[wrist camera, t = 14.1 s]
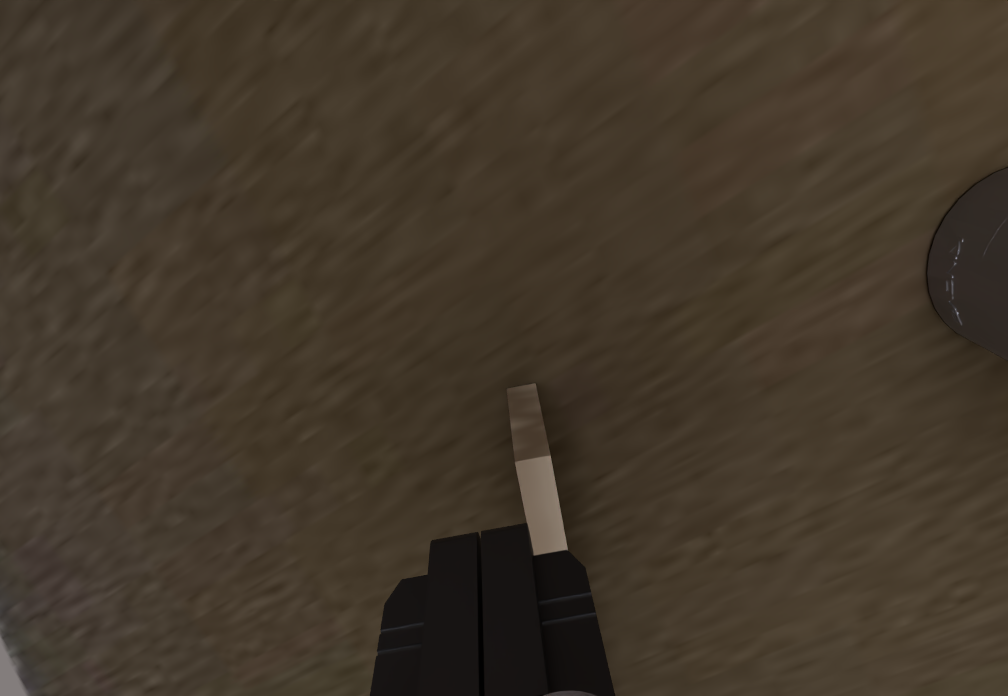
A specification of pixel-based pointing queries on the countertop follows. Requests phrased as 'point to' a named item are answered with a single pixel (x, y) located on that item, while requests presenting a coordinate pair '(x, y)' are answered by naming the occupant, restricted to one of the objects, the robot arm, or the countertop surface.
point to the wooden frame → (535, 470)
